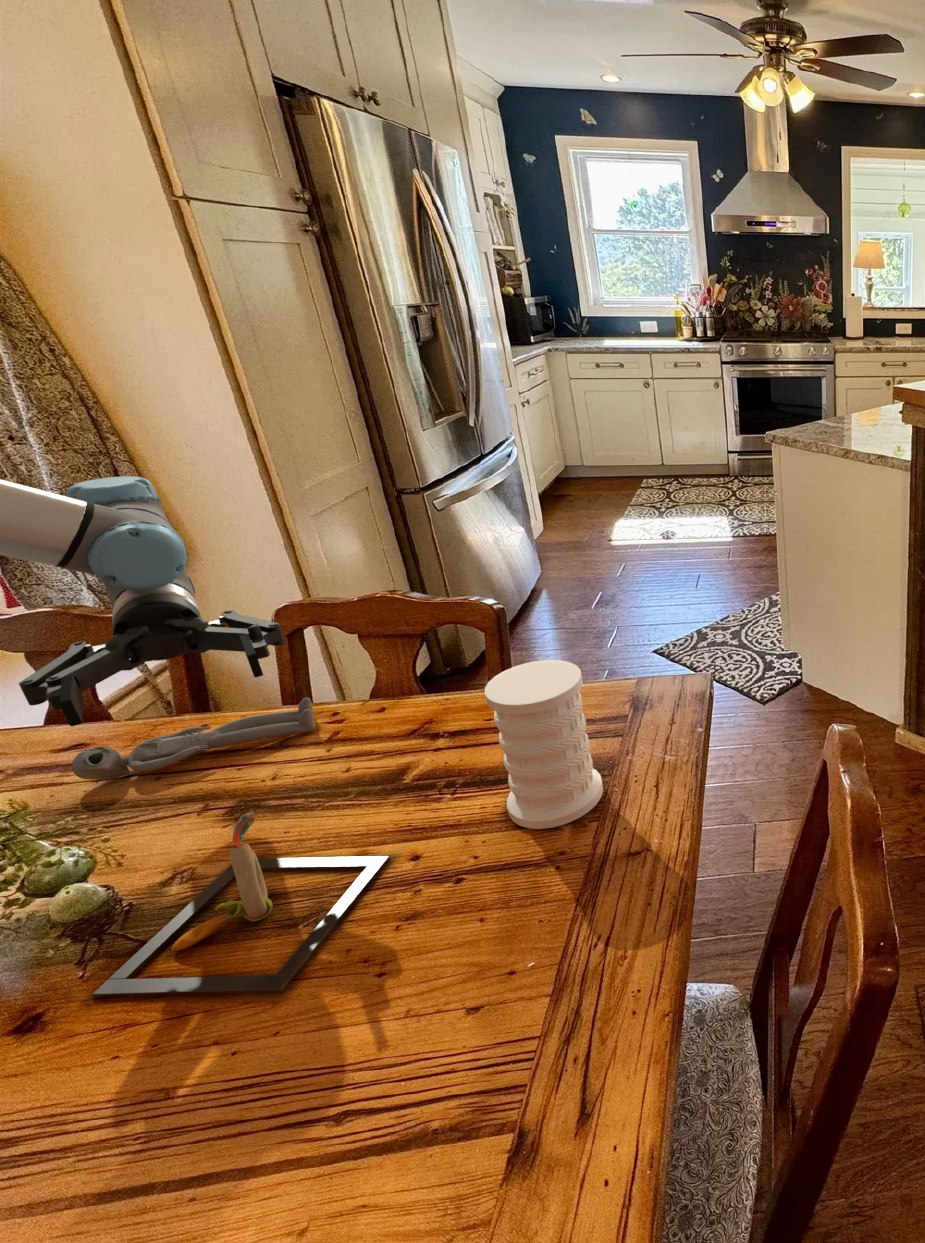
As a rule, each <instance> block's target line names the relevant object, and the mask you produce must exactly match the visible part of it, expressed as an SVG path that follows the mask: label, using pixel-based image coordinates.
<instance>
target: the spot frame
mask: <svg viewBox="0 0 925 1243" xmlns="http://www.w3.org/2000/svg"><path fill="white" fill-rule="evenodd" d="M257 859H258V862H259V864H260V868H261V871H262V872H290V871H292V872H295V871H296V872H297V871H345V870H346V871H347V870H348V871H349V870H352V871H353V870H363V871H362V872H360V874H359V875H358V876H357V878H356V879H355V880H354V881H353V882H352V884H351V885H350V886H349V887H348V889H347V890H345V892H344V893H343V894H342V895H341V897H340V898H339V900H338V901H337V902H336V903H335V904H334V905H333V906H332V907H331V909H329V911H328V912H327V913H326V914H325V916H324V917H323V918H322V920H321V921H320V922H319V923H318V924H317V926H316V927H315V928H314V929H313V930H312V931H311V933H310V934H309V935H308V936H307V937H306V939H305V940H304V941H303V942H302V943H301V945H300V946H299V947H298V948H297V949H296V951H294V953H293V954H292V956H291V957H290V958H289V959H288V960H287V961H286V963H285V964H284V965H283V966H282V968H280V970H279V971H278V972H277V973H276V974H269V975H267V974H266V975H231V976H227V975H226V976H189V977H188V976H187V977H153V978H152V977H150V978H149V977H148V978H146V977H145V978H133V977H134V976H135V975H136V974H138V972H139V971H140V970H141V969H142V968H144V967H145V965H147V964H148V962H150V961H151V960H152V959H153V958H154V957H155V956H156V955H157V954H158V953H159V952H160V951H161V950H162V949H163V948H165V947H166V945H168V943H170V942H171V941H172V940H173V939H174V938H175V937H176V936H177V935H178V934H179V933H180V932H181V931H182V930H184V928H185V927H186V926H188V924H189V923H191V922H192V921H193V920H194V919H195V918H196V917H197V916H198V915H199V914H200V913H201V912H202V911H203V910H204V909H205V908H206V907H207V906H208V905H209V904H210V903H211V902H212V901H213V900H214V899H216V897H218V896H219V895H220V893H222V892H223V891H224V890H225V889H226V888H227V887H228V886H229V885H230V884H232V882H234V880H236V877H235V874H234V871H233V867H232V863H230V865H229V866H228V867H227V868H226V869H225V870H223V872H222V873H220V874H219V875H218V876H217V877H216V878H215V879H214V880H213V881H211V883H210V884H209V885H207V887H205V888H204V889H203V890H202V891H201V892H200V893H199V894H198V895H197V896H195V898H193V899H192V900H191V902H189V903H188V904H187V905H186V906H185V907H184V908H182V910H181V911H179V913H177V914H176V915H175V916H174V917H172V919H171V920H170V921H169V922H168V923H167V924H165V925H164V927H162V928H161V929H160V930H159V931H158V932H157V933H156V934H155V935H154V936H153V937H152V938H151V939H150V940H148V941H147V942H146V943H145V944H144V945H143V946H141V948H140V949H139V950H137V951H136V953H134V954H133V955H132V956H131V957H130V958H129V959H128V960H127V961H126V962H125V963H124V964H123V965H121V966H120V968H119V969H117V970H116V971H115V972H114V973H112V975H110V976H109V977H108V979H106V980H105V982H103V983H102V984H101V985H100V986H99V987H98V988H97V989H96V990H94V991H93V992H92V994H91V996H92V998H94V999H96V998H97V999H102V998H103V999H104V998H105V999H106V998H138V997H141V998H142V997H144V998H145V997H176V996H216V995H217V996H219V995H249V994H251V995H253V994H254V995H255V994H257V995H258V994H283V992H284V991H286V989H287V988H288V986H289V985H290V984H291V983H292V981H293V980H294V979H295V978H296V977H297V975H298V974H299V973H300V972H301V970H302V969H303V968H304V967H305V966H306V965H307V963H308V962H309V961H310V960H311V958H312V957H313V956H314V954H315V953H316V952H317V951H318V949H319V948H320V947H321V946H322V945H323V943H325V940H327V938H328V937H329V936H330V935H331V934H332V932H333V931H334V930H335V928H336V927H337V926H338V925H339V924H340V922H341V921H342V920H343V919H344V917H345V916H346V915H347V914H348V912H349V911H350V910H351V908H353V906H354V905H355V904H356V903H357V901H358V900H359V899H360V898H361V897H362V895H363V894H364V893H365V892H366V890H367V889H368V887H369V886H370V885H371V884H372V882H373V881H374V880H375V879H376V877H377V876H378V875H379V874H380V873H381V871H383V869H384V868H385V866H386V865H387V864H388V863H389V861H391V856H390V855H374V856H373V855H366V856H365V855H364V856H361V855H360V856H307V857H306V856H304V857H303V856H299V857H298V856H297V857H257Z"/></svg>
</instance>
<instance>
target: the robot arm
mask: <svg viewBox="0 0 925 1243" xmlns="http://www.w3.org/2000/svg"><path fill="white" fill-rule="evenodd" d="M65 494H66V495H62V494H58V493H55V492H51V491H49V490H44V489H40V488H36V487H32V486H28V485H25V484H21V483H18V482H14V481H9V480H5V479H1V478H0V556H2V557H8V558H12V559H18V560H22V561H27V562H32V563H37V564H42V565H47V566H50V567H51V566H52V567H57V568H62V569H65V570H69V571H74V572H77V573H78V572H79V573H83V574H89V575H93V576H95V577H97V578H98V579H99V580H101V581H102V583H103V586H104V588H105V590H106V593H107V595H108V598H109V600H110V603H111V609H112V610H111V613H112V614H111V621H112V622H111V623H112V625H111V626H112V637H110V638H109V639H108V640H106V643H103V644H98V645H92V644H90V643H89V644H88V643H87V641H85V640H84V641H83V640H82V641H76V642H74V643H71V644H70V645H69V647H68V649H67V651H65V652H64V653H61V655H59V656H58V657H56V658H55V659H53V660H52V661H50V662H48V663H47V664H46V665H44V666H42V667H40V668H39V669H38V670H36V671H35V672H34V673H32V674H30V675H29V676H27V677H25V678H24V679H23V680H21V681H20V682H19V683H18V685H19V688H20V689H21V691H22V693H23V695H24V697H25V700H26V701H27V703H28V705H29V706H37V705H41V704H43V703H45V702H47V703H48V704H49V706H50V708H51V710H53V711H58V710H62V712H63V713H64V716H65V717H66V719H67V723H68V724H69V726H70V727H75V726H78V725H82V724H83V717H84V716H83V715H84V695H83V692H86V691H87V690H89V689H91V688H92V687H94V686H96V685H97V684H99V683H101V682H103V681H105V680H107V679H108V678H110V677H112V676H114V675H116V674H118V673H120V672H121V671H132V670H134V669H136V668H138V667H139V666H141V665H144V664H145V663H147V662H153V661H154V662H155V661H157V662H158V661H167V660H171V659H175V658H178V657H181V656H183V655H185V654H187V653H198V654H205V653H206V652H208V651H223V652H225V651H226V652H242V653H245V656H246V659H247V662H248V664H249V667H250V669H251V672H252V674H253V677H254V678H259V677H263V676H264V673H263V670H262V667H261V664H260V662H259V660H261V659H265V658H268V657H269V656H270V655H271V654H270V651H269V648H268V646H273V647H277V646H278V647H279V646H282V645H284V644H285V643H286V640H285V637H284V634H283V631H282V628H281V625H280V623H278V622H275V621H270V620H265V619H261V618H256V617H251V616H246V615H242V614H238V613H237V611H236V610H233V609H231V610H230V609H229V610H224V611H222V612H221V615H220V616H218V617H217V619H215V620H214V619H213V620H210V621H208V620H206V619H203V617H202V615H201V612H200V608H199V605H198V602H197V600H196V595H195V594H196V590H195V587H194V584H193V581H192V580H191V576H189V574H188V572H187V568H186V566H187V562H188V561H187V560H188V556H187V548H186V543H185V541H184V540H183V538H182V537H181V535H180V534H179V533H178V532H177V531H176V530H175V529H174V528H173V525H172V524H171V522H170V521H169V519H168V518H167V515H166V514H165V511H164V508H163V505H162V500H161V497H159V496H158V494H157V492H156V489H155V487H154V486H153V482H151V481H150V480H148V479H147V478H145V477H141V476H135V475H133V476H132V475H129V476H128V475H127V476H126V475H125V476H123V475H122V476H111V477H102V478H95V479H90V480H85V481H81V482H78V483H75V484H72V485H71V486H69V487H68V488H67V489H66V492H65Z"/></svg>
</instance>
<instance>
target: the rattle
mask: <svg viewBox="0 0 925 1243" xmlns="http://www.w3.org/2000/svg"><path fill="white" fill-rule="evenodd" d="M255 818H256V817H255V815H254V813H252V812H246V813H244V814H242V815H240V817H239V818H238V820H237V822H236V823H235V825H234V828H233V831H232V843H233V844H234V845H235V846H234V847H232V848H231V850H230V851H229V857H230V862H231V863H230V864H232V867H233V871H234V874H235V877H236V878H235V880H236V881H235V882H236V885H237V890H238V894H239V898H240V900H241V901H237V900H233V899H229V900H228V901H227V902H221V903H219V904H218V905H217V906H216V907H215V908H214V911H216V912H218V911H221V910H225V911H228V913H225V914H222V915H218V916H216V917H213V918H211V919H209V920H207V921H205V922H202V923H201V924H199V925H197V926H195V927H194V928H191V929H190V930H189V931H187V932H185V933H184V934H183V935H181V936H180V937H179V938H178V939H177V940H176V941H175V942H174V943H173V945H172V946H171V949H170V950H171V951H173V952H178V951H179V952H180V951H183V950H185V949H188V948H190V947H192V946H194V945H196V944H198V943H199V942H200V941H202V940H203V939H205V938H206V937H207V936H209V935H210V934H212V932H214V931H215V930H216V929H217V928H219V926H220V925H221V924H222V923H224V922H225V921H227V920H228V919H231V918H240V917H243V918H245V919H246V920H248V921H250V922H251V923H253V922H258V921H260V920H262V919H264V918H266V917H267V916H269V915H270V914H271V912H272V910H273V905H274V904H273V901H272V900H271V899H270V898H269V894H268V889H267V886H266V881H265V878H264V874H263V871H261V868H260V864H259V862H258V859H257V858H258V856H257V854H256V852H255V851H254V850H253V849H252V848H251V846H250V845H249V844H248V843H242V842H243V839H244V836H245V834H246V833H247V831H248V830H249V829H250V828H251V826H252V825H253V824H254V822H255Z"/></svg>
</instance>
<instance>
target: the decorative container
mask: <svg viewBox="0 0 925 1243" xmlns="http://www.w3.org/2000/svg"><path fill="white" fill-rule="evenodd" d="M582 675H583V674H582V672H581V669H580V668H579V666H578V665H577V664H574V663H572V662H570V661H565V660H562V659H561V660H560V659H546V660H544V659H542V660H535V661H529V662H525V663H522V664H518V665H515V666H512V667H510V668H507V669H505V670H504V671H501V672H499V673H498V674H497V675H494V676H493V678H491V679H490V680H489V681H488V682H487V684H486V685H485V686H484V696H485V702H486V704H487V706H488V707H489V708H490V709H491V710H493V711H494V712H493V713H494V714H493V721H494V725H495V726H496V728H497V729H498V731H499V733H498V743H499V744H498V745H499V747H500V748H501V750H502V752H503V753H504V754H503V766H504V768H505V770H506V772H507V773H508V778H507V780H508V781H507V784H508V788H509V789H510V792H509V794H508V796H507V799H506V809H507V814H508V816H509V818H510V819H511V821H512V822H513V823H515V824H516V825H518V826H520V827H523V828H526V829H532V830H533V829H537V830H542V829H543V830H544V829H551V828H552V829H553V828H556V827H560V826H564V825H567V824H569V823H571V822H573V821H576V820H578V819H580V818H581V817H583V816H585V815H586V814H588V813H589V812H591V811H592V809H594V808H595V807H596V806H597V804H598V803H599V801H600V800H601V798H602V796H603V792H604V785H603V779H602V775H601V774H600V773H599V771H598V770H597V769H595V768H594V762H593V761H594V760H593V759H592V758H593V757H592V754H591V753H590V749H591V746H590V745H591V743H590V739H589V736H588V734H587V733H586V731H587V725H586V724H587V719H586V716H585V713H583V707H584V705H583V703H584V700H583V699H584V698H582V695H581V692H580V691H581V688H582V687H583V684H584V682H583V677H582Z"/></svg>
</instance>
